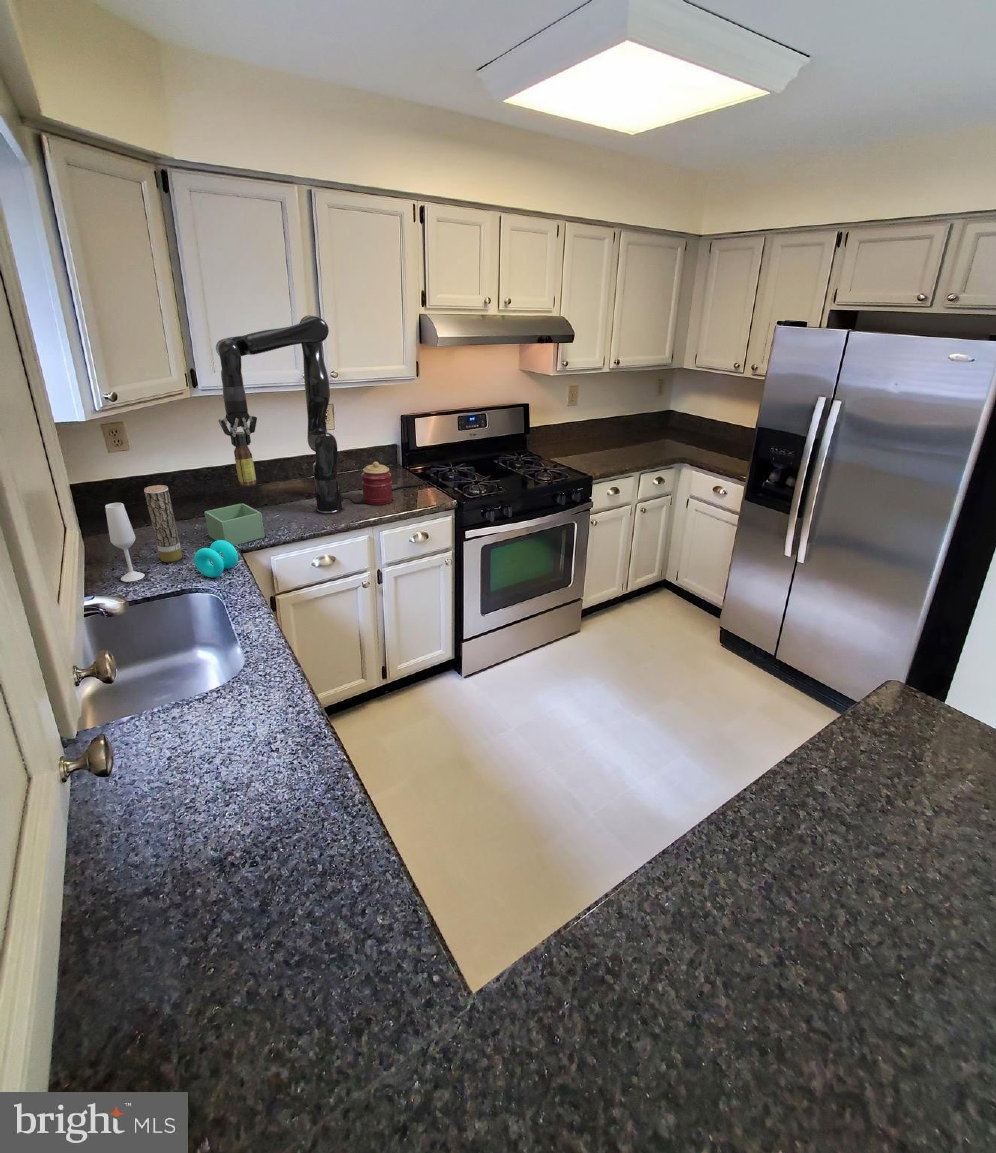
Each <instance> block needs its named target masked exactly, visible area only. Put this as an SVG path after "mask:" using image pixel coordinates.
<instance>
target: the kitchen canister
mask: <svg viewBox="0 0 996 1153" xmlns="http://www.w3.org/2000/svg"><path fill="white" fill-rule="evenodd" d="M360 475H361V478H362V481H361V486H362V501H365V503H364V504H367V505H371V506H375V505H376V506H378V505H379V506H381V505H386V504H389V503H391V502H392V501H393V498H394V497H393V491H392V489H393V485H392V484H393V481H392V479H391V477H392V472H390V468H389V467H387V466H386V465H384V464H380V463H379V462H378V461H373V462H372V464H368V465H366V466H365V467H364V468H363V469H362V473H361V474H360Z"/></svg>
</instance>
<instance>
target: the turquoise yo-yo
mask: <svg viewBox="0 0 996 1153" xmlns="http://www.w3.org/2000/svg"><path fill="white" fill-rule="evenodd" d="M222 555H223V556H222ZM193 561H194V565H195V567H196V569H197V570H198V572H199V573H201V574H202V575H203V576H205V577H206V578H218V577H219V576H221V575H222V574H223V572H224V570H225V569H226V570H230V569H232V568H234V567H236V565H237V564H238V561H239V553H238V551H237V549H236V547H235V545H234V546H233V545H232V544H230V543H229V542H227V541H224V540H217V541H216V540H214V541H213V542H212V543H211V544H210V546H209V547H202V548H200V549H198V550H197V551H196V552H195V554H194V558H193Z"/></svg>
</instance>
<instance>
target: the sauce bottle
mask: <svg viewBox="0 0 996 1153" xmlns="http://www.w3.org/2000/svg"><path fill="white" fill-rule="evenodd" d="M235 437H236V438H237V445H238V447H234V450H233V454H234V461H235V462H234V463H235V466H236V473H237V478H238V482H239V485H240V486H243V487H252V486H255V485H257V476H256V470H255V464H254V460H253V459H254V458H253V454H252V452H251V450H250V447H249V445H247V443H246V434H245V432H244V431H236V436H235Z"/></svg>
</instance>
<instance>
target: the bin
mask: <svg viewBox="0 0 996 1153" xmlns="http://www.w3.org/2000/svg"><path fill="white" fill-rule="evenodd" d="M204 517H205V522H206V528H207V533H208V537H209V538H211V539H212V540H214V541H217V540H224V541H227V542H229V543H230V544H232V545H233V546H234V547H235V546H237V545H241V544H244V543H249V542H253V541H256V540H260V539H264V538H265V537H266V536H265V529H264V521H263V515H262V512H260V511H258V510H256V509H254V508H253V507H251V506H249V505H247V504H245V503H237V504H232V505H228V506H223V507H219V508H214V509H209V510H206V511H204Z"/></svg>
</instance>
